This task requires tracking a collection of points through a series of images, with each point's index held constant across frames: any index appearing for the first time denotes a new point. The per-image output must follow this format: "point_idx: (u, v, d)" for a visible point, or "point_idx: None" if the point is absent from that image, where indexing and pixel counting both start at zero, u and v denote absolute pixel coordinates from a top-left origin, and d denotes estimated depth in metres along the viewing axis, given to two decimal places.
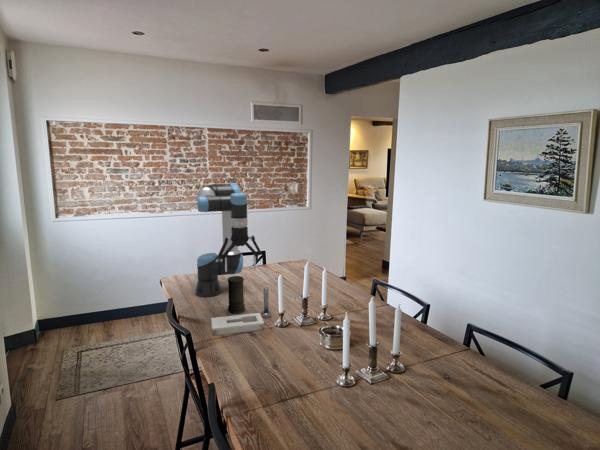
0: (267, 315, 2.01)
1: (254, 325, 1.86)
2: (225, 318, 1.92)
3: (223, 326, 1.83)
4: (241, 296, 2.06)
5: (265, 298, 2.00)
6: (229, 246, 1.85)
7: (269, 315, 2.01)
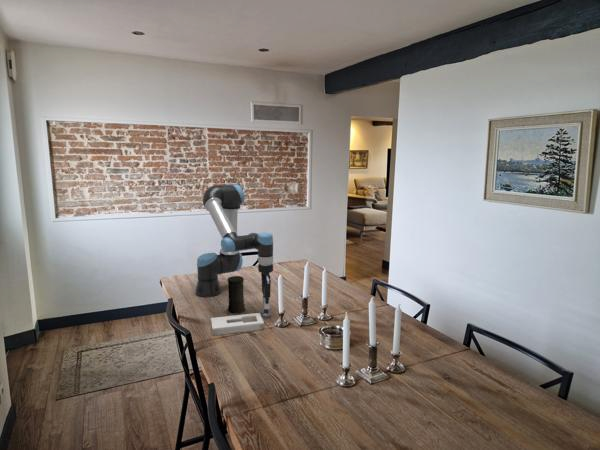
0: (267, 315, 2.01)
1: (254, 325, 1.86)
2: (225, 318, 1.92)
3: (223, 326, 1.83)
4: (241, 296, 2.06)
5: None
6: None
7: (269, 315, 2.01)
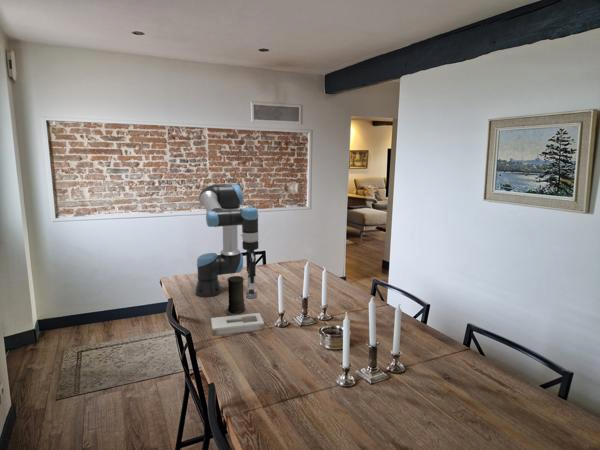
0: (252, 296, 1.88)
1: (254, 325, 1.86)
2: (225, 318, 1.92)
3: (223, 326, 1.83)
4: (241, 296, 2.06)
5: None
6: None
7: (254, 296, 1.88)
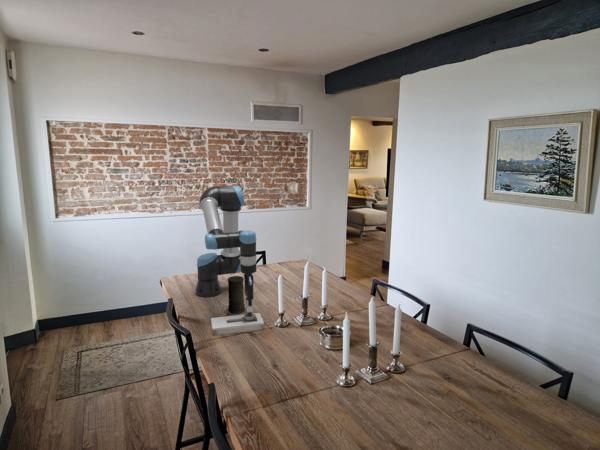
0: (250, 318, 1.89)
1: (254, 325, 1.86)
2: (225, 318, 1.92)
3: (223, 326, 1.83)
4: (241, 296, 2.06)
5: None
6: None
7: (252, 318, 1.89)
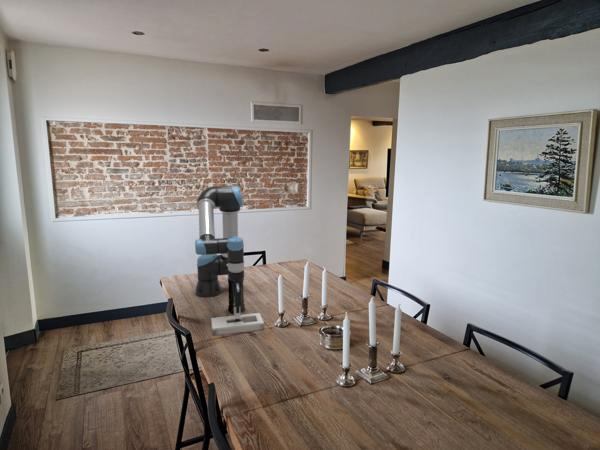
0: None
1: (254, 325, 1.86)
2: (225, 318, 1.92)
3: (223, 326, 1.83)
4: (241, 296, 2.06)
5: None
6: None
7: None
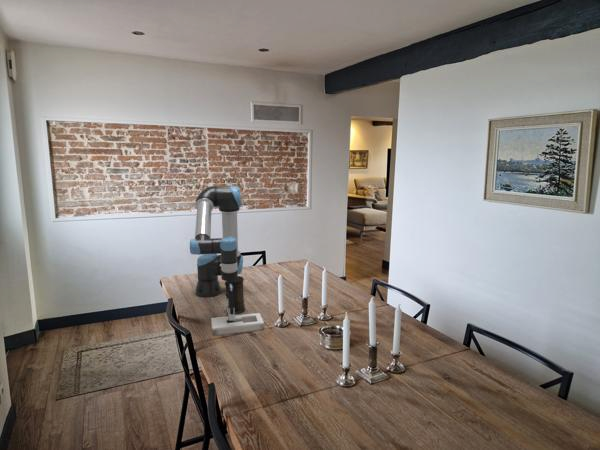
0: None
1: (254, 325, 1.86)
2: (225, 318, 1.92)
3: (223, 326, 1.83)
4: (241, 296, 2.06)
5: None
6: None
7: None
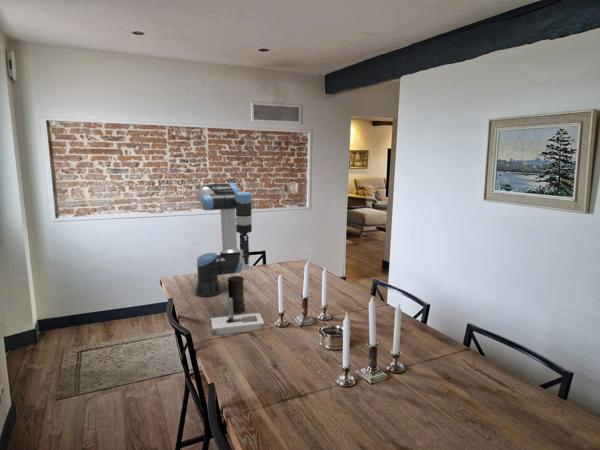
0: None
1: (254, 325, 1.86)
2: (225, 318, 1.92)
3: (223, 326, 1.83)
4: (241, 296, 2.06)
5: (229, 309, 1.87)
6: None
7: None
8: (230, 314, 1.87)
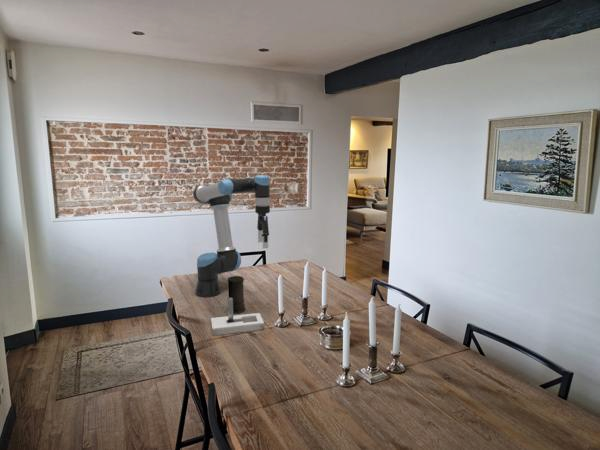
0: None
1: (254, 325, 1.86)
2: (225, 318, 1.92)
3: (223, 326, 1.83)
4: (241, 296, 2.06)
5: (229, 309, 1.87)
6: None
7: None
8: (230, 314, 1.87)
